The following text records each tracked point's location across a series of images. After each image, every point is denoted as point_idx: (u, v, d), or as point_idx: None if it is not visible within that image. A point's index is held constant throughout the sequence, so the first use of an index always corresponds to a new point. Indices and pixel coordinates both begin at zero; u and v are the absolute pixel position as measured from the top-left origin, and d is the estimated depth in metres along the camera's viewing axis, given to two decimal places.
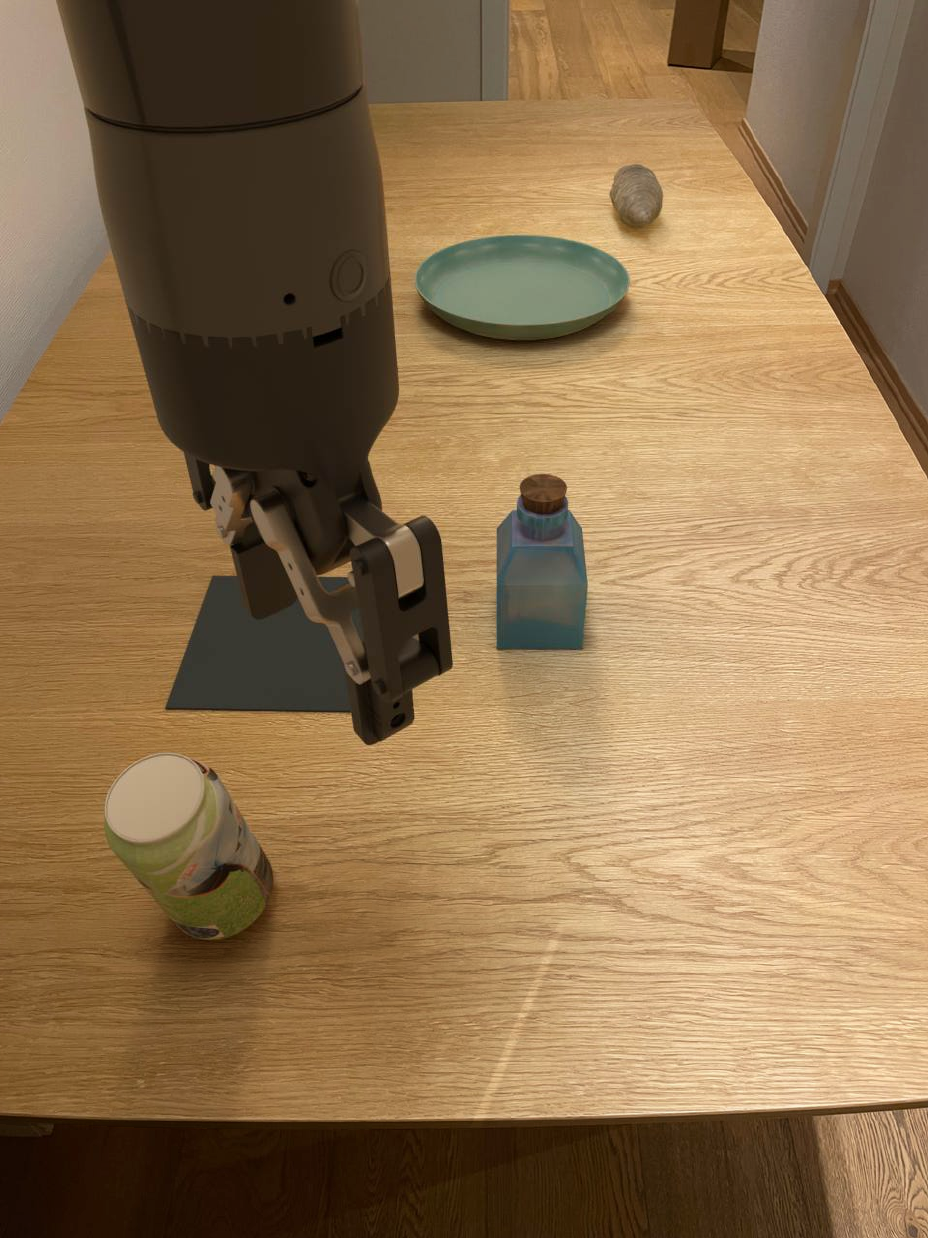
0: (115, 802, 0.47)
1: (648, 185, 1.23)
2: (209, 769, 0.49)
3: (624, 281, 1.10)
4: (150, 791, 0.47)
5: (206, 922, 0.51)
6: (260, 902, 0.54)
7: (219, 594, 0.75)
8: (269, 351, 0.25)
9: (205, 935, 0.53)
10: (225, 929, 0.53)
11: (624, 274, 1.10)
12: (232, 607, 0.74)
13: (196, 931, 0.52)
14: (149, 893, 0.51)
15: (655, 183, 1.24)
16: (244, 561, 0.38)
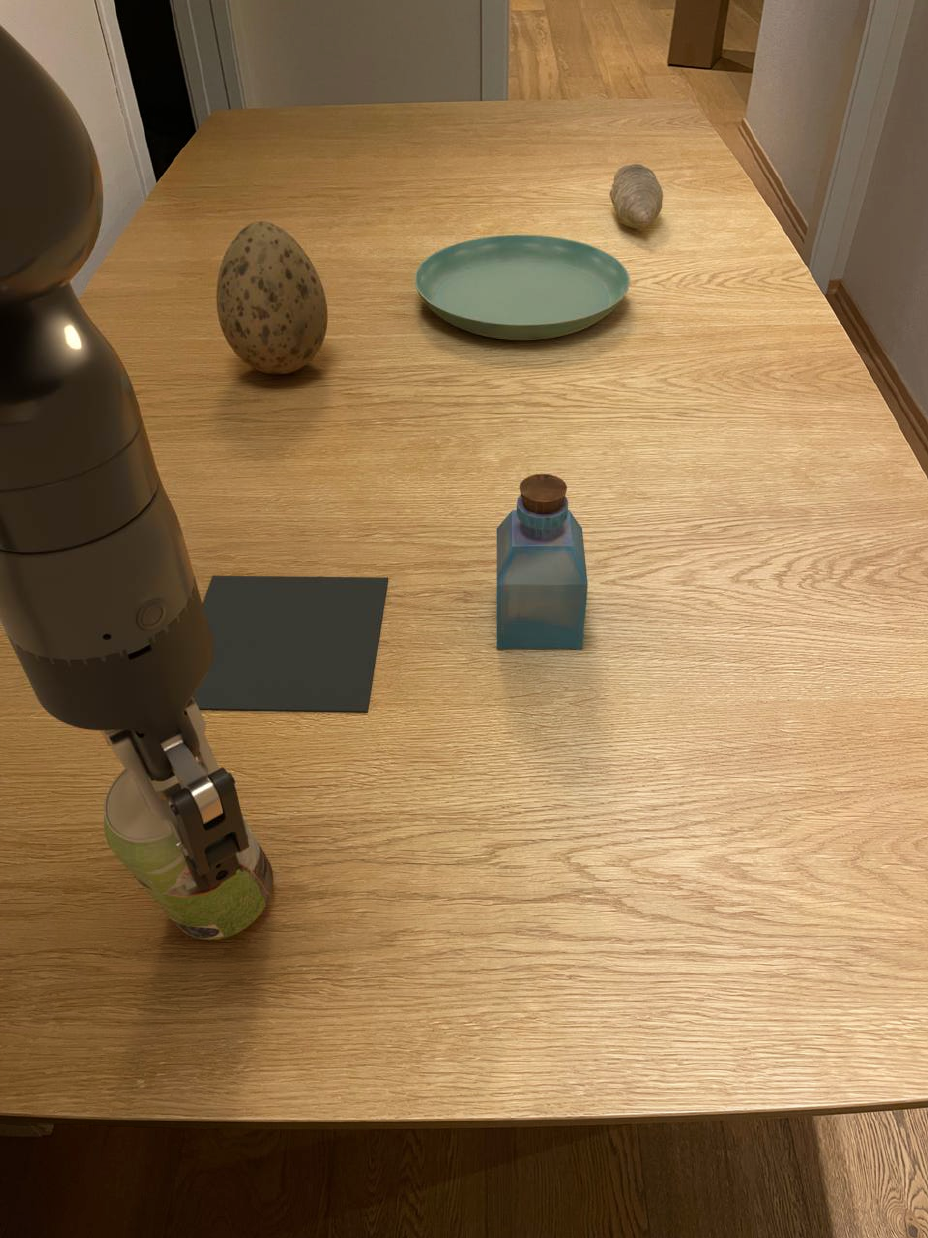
0: (115, 801, 0.47)
1: (648, 185, 1.23)
2: None
3: (624, 281, 1.10)
4: None
5: (206, 922, 0.51)
6: (260, 902, 0.54)
7: (219, 594, 0.75)
8: (97, 666, 0.37)
9: (205, 935, 0.53)
10: (225, 929, 0.53)
11: (624, 274, 1.10)
12: (232, 607, 0.74)
13: (196, 931, 0.52)
14: (149, 893, 0.51)
15: (655, 183, 1.24)
16: None
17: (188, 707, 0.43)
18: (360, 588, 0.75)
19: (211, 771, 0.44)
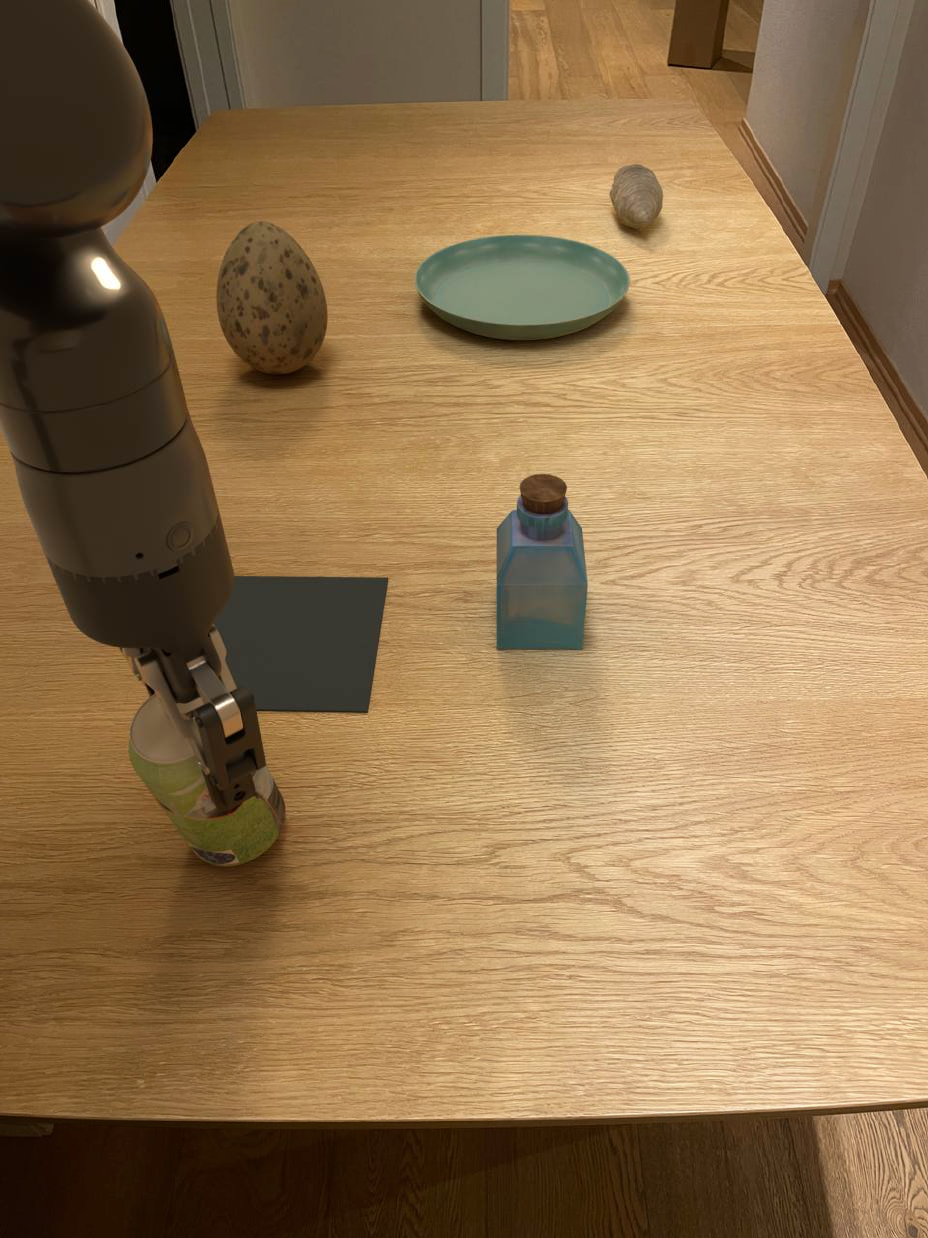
0: (139, 727, 0.50)
1: (648, 185, 1.23)
2: None
3: (624, 281, 1.10)
4: None
5: (223, 847, 0.55)
6: (273, 831, 0.57)
7: None
8: (129, 584, 0.40)
9: (222, 861, 0.56)
10: (240, 855, 0.56)
11: (624, 274, 1.10)
12: (232, 607, 0.74)
13: (213, 856, 0.56)
14: None
15: (655, 183, 1.24)
16: None
17: (210, 634, 0.46)
18: (360, 588, 0.75)
19: None
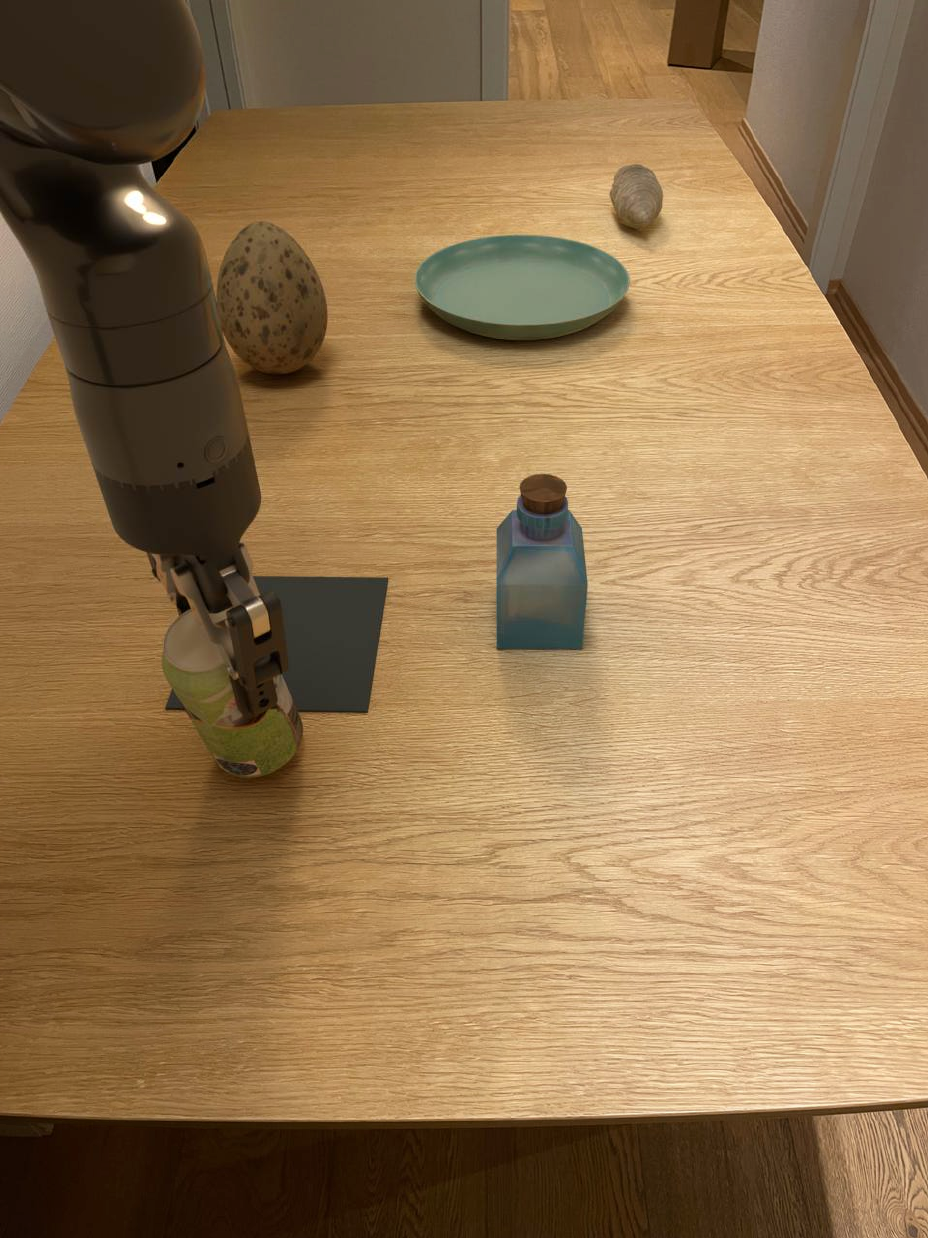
0: (172, 641, 0.55)
1: (648, 185, 1.23)
2: None
3: (624, 281, 1.10)
4: None
5: (246, 757, 0.59)
6: (292, 745, 0.61)
7: None
8: (171, 492, 0.45)
9: (245, 772, 0.61)
10: (262, 766, 0.60)
11: (624, 274, 1.10)
12: None
13: (237, 767, 0.60)
14: (198, 729, 0.58)
15: (655, 183, 1.24)
16: None
17: None
18: (360, 588, 0.75)
19: None
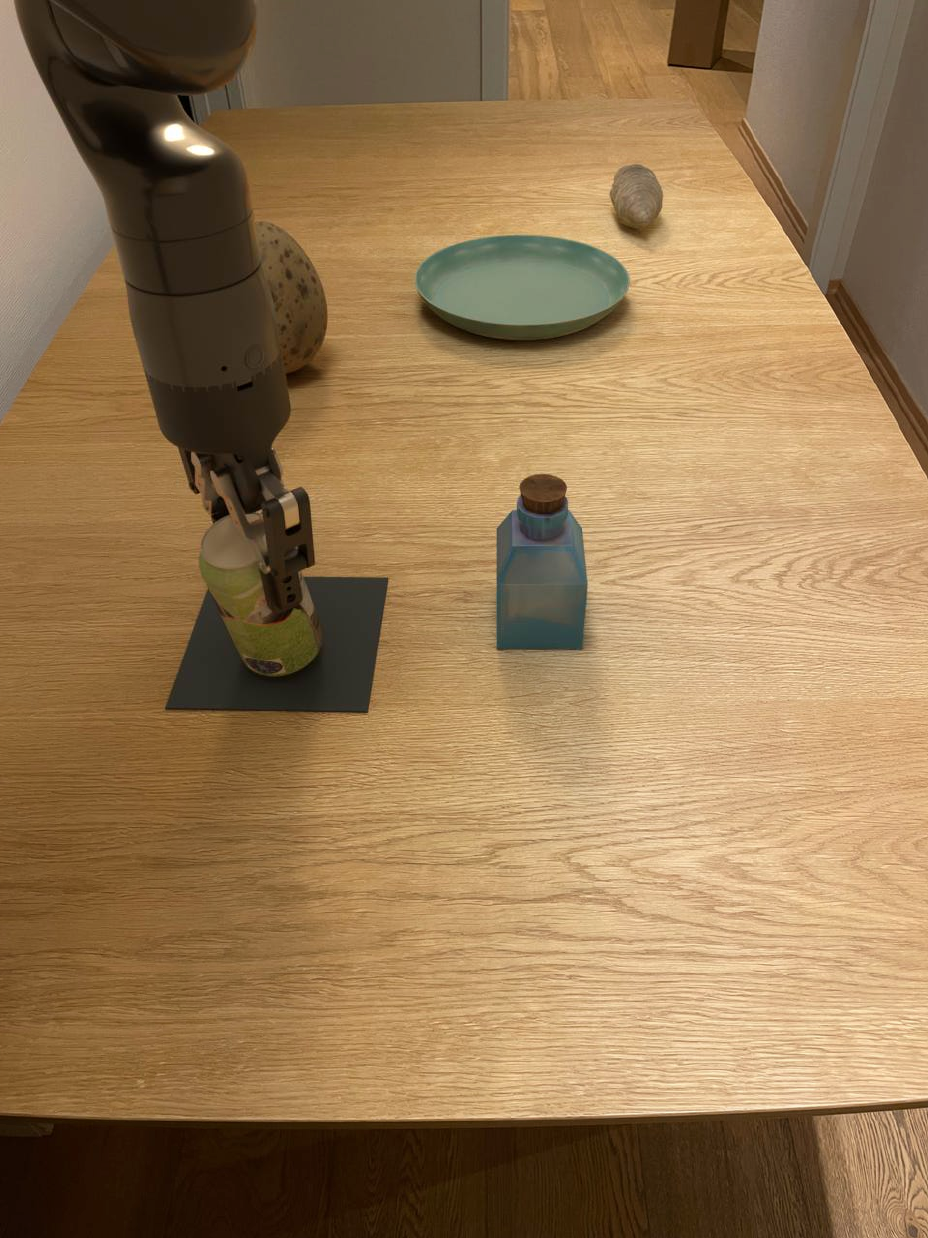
0: (208, 543, 0.61)
1: (648, 185, 1.23)
2: None
3: (624, 281, 1.10)
4: (235, 536, 0.62)
5: (273, 654, 0.66)
6: (314, 647, 0.68)
7: None
8: (215, 393, 0.51)
9: (271, 670, 0.67)
10: (287, 664, 0.67)
11: (624, 274, 1.10)
12: None
13: (265, 665, 0.67)
14: (230, 628, 0.65)
15: (655, 183, 1.24)
16: None
17: None
18: (360, 588, 0.75)
19: None
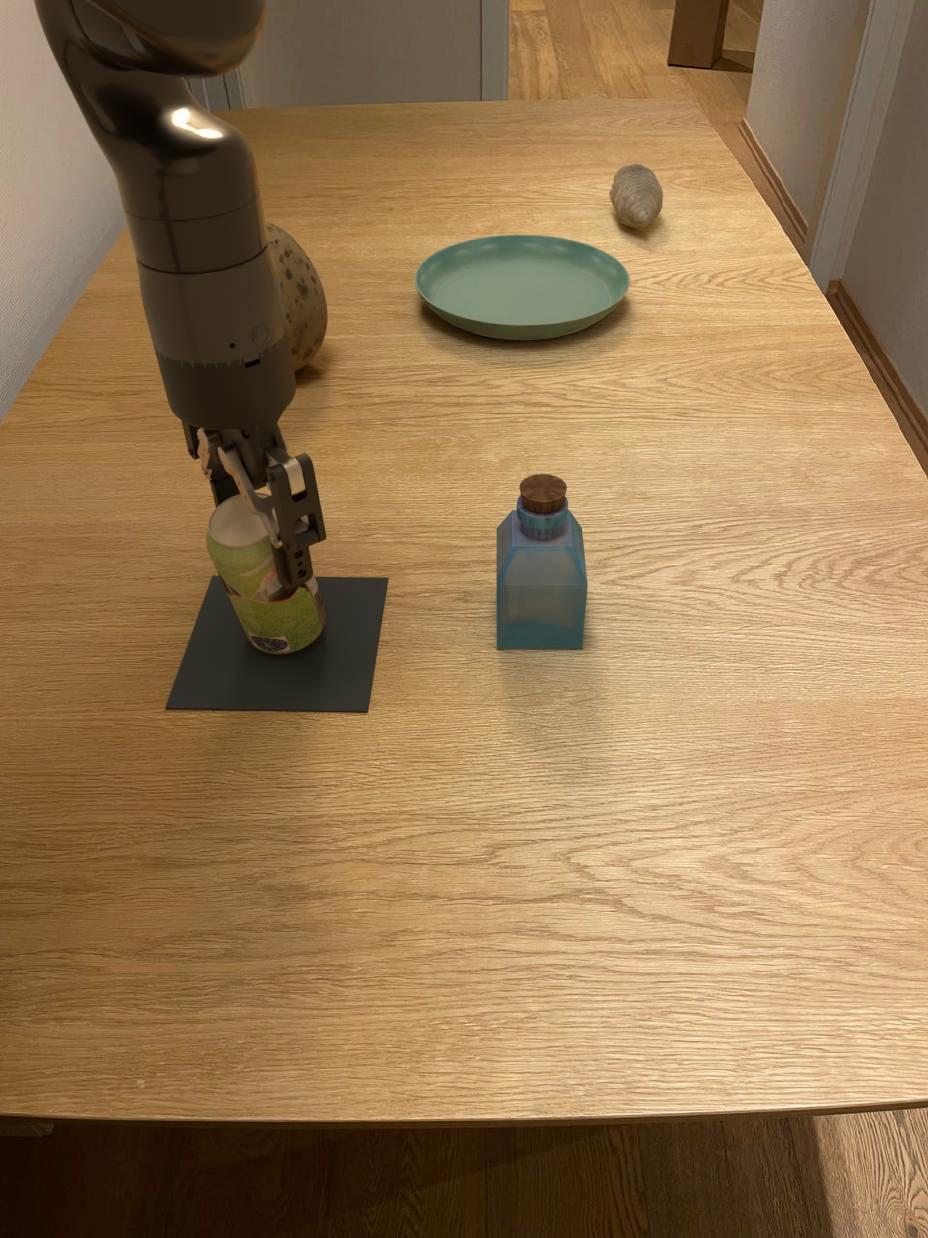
0: (215, 523, 0.63)
1: (648, 185, 1.23)
2: None
3: (624, 281, 1.10)
4: (241, 515, 0.63)
5: (278, 632, 0.68)
6: (318, 625, 0.70)
7: (219, 594, 0.75)
8: (223, 370, 0.53)
9: (276, 648, 0.69)
10: (292, 642, 0.69)
11: (624, 274, 1.10)
12: (232, 607, 0.74)
13: (270, 643, 0.68)
14: (236, 606, 0.67)
15: (655, 183, 1.24)
16: (217, 489, 0.66)
17: None
18: (360, 588, 0.75)
19: None
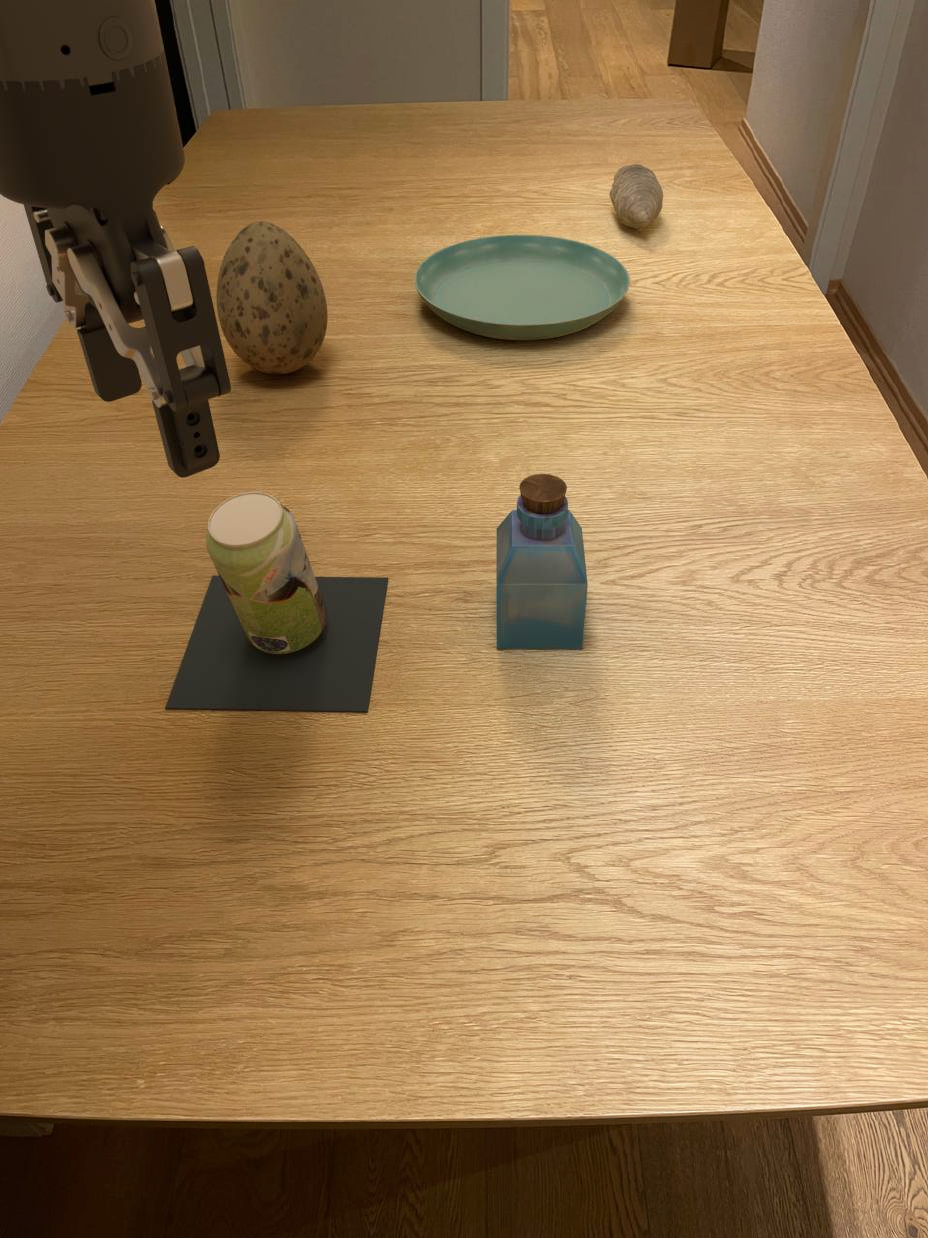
0: (215, 523, 0.63)
1: (648, 185, 1.23)
2: (283, 505, 0.65)
3: (624, 281, 1.10)
4: (241, 515, 0.63)
5: (278, 632, 0.68)
6: (318, 625, 0.70)
7: (219, 594, 0.75)
8: (54, 95, 0.34)
9: (276, 648, 0.69)
10: (292, 642, 0.69)
11: (624, 274, 1.10)
12: (232, 607, 0.74)
13: (270, 643, 0.68)
14: (236, 606, 0.67)
15: (655, 183, 1.24)
16: (88, 342, 0.46)
17: None
18: (360, 588, 0.75)
19: None
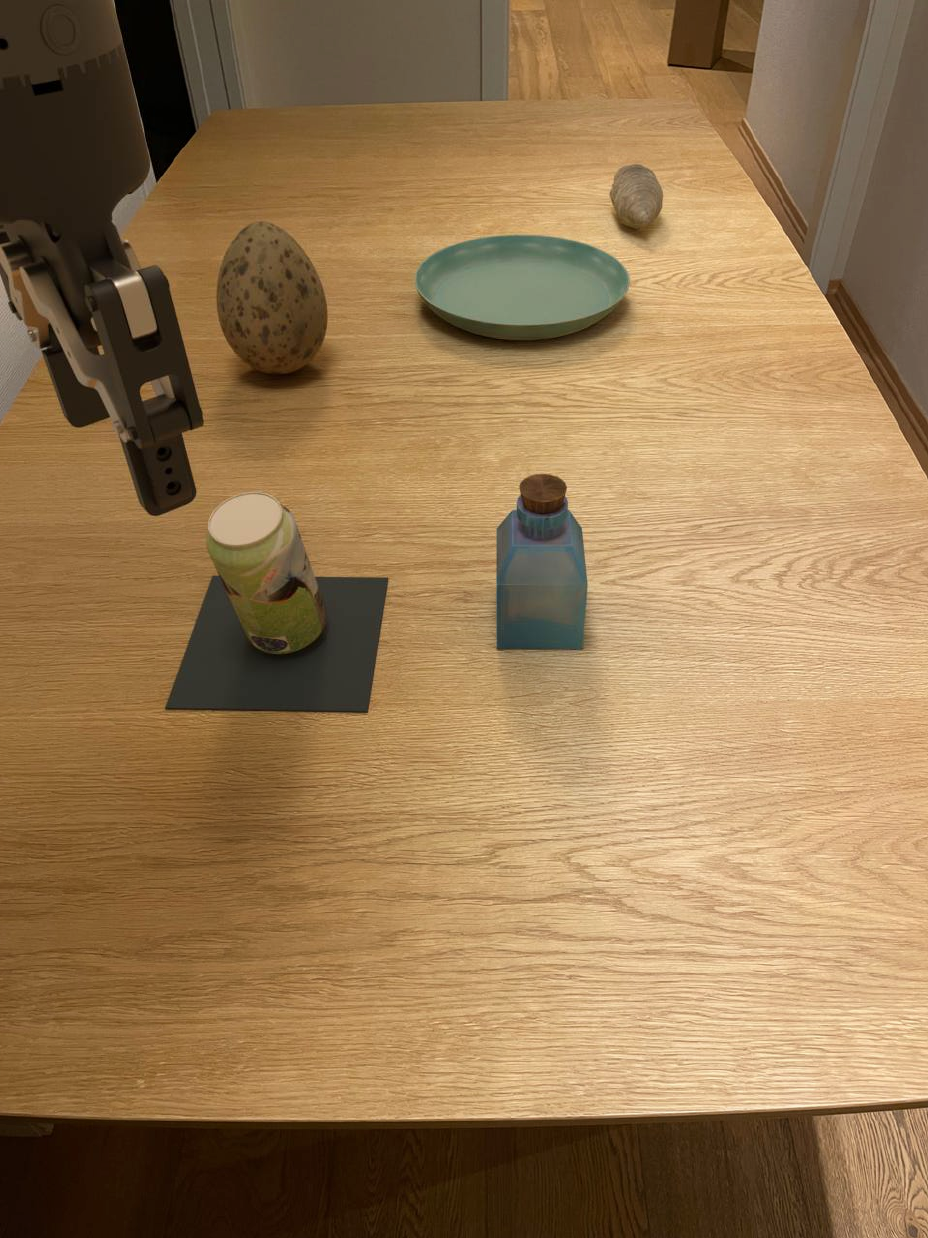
0: (216, 523, 0.63)
1: (648, 185, 1.23)
2: (283, 505, 0.65)
3: (624, 281, 1.10)
4: (241, 515, 0.63)
5: (278, 632, 0.68)
6: (318, 625, 0.70)
7: (219, 594, 0.75)
8: None
9: (276, 648, 0.69)
10: (292, 642, 0.69)
11: (624, 274, 1.10)
12: (232, 607, 0.74)
13: (270, 643, 0.68)
14: (236, 606, 0.67)
15: (655, 183, 1.24)
16: (54, 364, 0.42)
17: None
18: (360, 588, 0.75)
19: None
